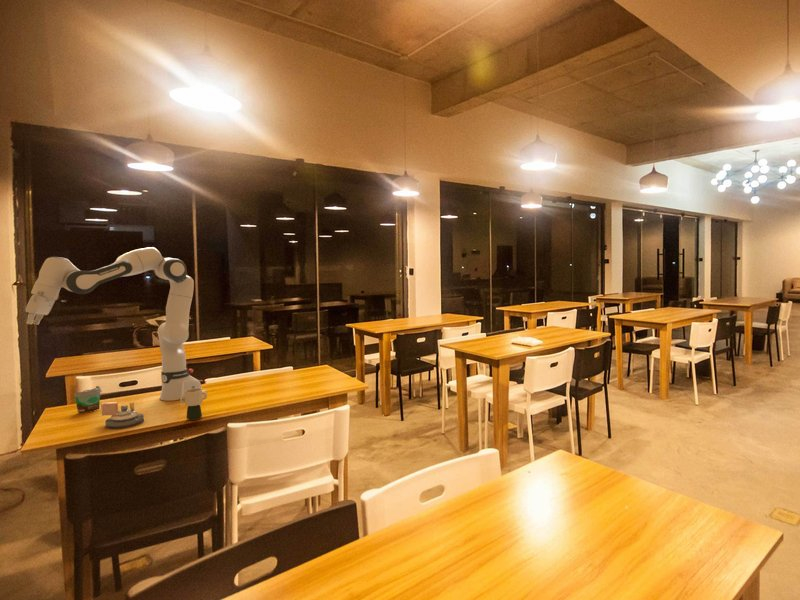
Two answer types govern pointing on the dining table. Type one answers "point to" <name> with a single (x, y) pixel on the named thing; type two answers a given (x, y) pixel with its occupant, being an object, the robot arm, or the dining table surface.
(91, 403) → the food container
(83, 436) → the dining table surface
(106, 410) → the multicoloured piece
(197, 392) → the character mug
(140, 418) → the handwheel with crank handle
